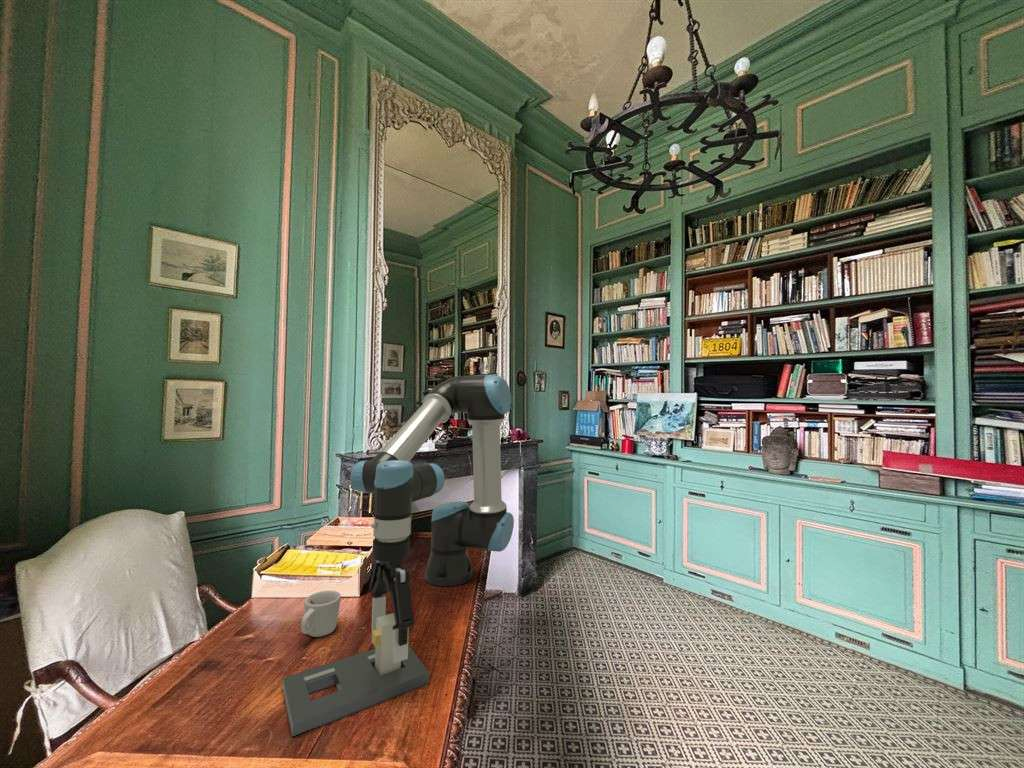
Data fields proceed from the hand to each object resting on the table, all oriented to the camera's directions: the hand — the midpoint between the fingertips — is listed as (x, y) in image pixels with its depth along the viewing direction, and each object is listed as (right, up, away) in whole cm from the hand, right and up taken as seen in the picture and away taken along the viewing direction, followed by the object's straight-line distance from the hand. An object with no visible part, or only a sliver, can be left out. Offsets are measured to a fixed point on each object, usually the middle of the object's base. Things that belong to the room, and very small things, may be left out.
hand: (388, 643), depth 83 cm
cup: (-21, -7, +14) cm, 26 cm away
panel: (-5, -6, -4) cm, 9 cm away
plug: (0, -6, 0) cm, 6 cm away
